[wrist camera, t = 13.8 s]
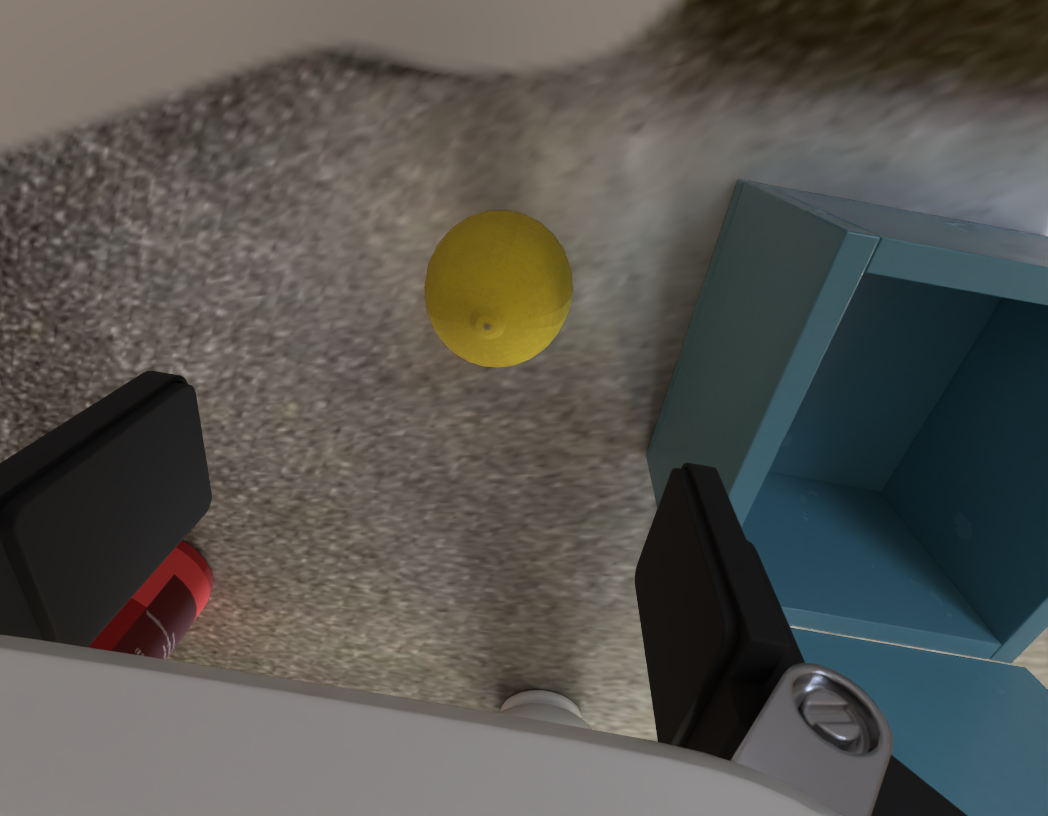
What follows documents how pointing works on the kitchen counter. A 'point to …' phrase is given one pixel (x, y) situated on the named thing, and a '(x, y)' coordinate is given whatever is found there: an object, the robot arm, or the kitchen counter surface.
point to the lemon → (498, 288)
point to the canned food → (161, 607)
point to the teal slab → (953, 720)
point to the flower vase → (544, 708)
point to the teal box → (875, 416)
